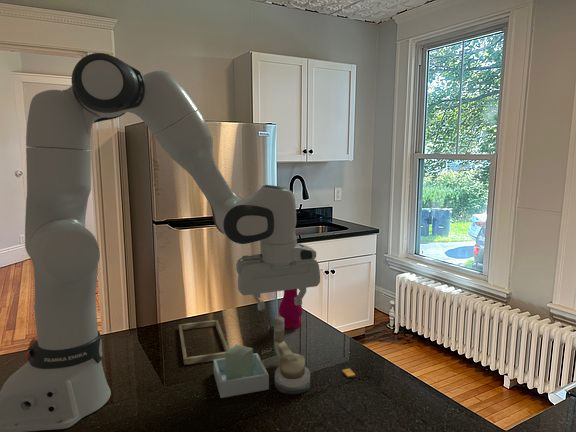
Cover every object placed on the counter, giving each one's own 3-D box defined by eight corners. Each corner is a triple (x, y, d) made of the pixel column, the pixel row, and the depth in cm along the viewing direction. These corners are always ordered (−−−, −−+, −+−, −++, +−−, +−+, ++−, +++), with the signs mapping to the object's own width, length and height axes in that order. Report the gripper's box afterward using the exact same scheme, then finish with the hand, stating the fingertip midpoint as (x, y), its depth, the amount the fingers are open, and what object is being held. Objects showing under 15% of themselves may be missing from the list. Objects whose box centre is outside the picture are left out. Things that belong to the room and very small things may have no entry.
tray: (220, 398, 89) (220, 382, 89) (213, 373, 99) (213, 359, 99) (268, 389, 92) (268, 374, 92) (257, 366, 102) (257, 352, 102)
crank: (308, 376, 92) (308, 339, 91) (284, 380, 91) (284, 343, 89) (288, 347, 106) (288, 315, 105) (267, 350, 104) (266, 318, 103)
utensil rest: (184, 365, 103) (183, 359, 103) (178, 329, 125) (178, 324, 124) (230, 357, 107) (230, 352, 107) (217, 324, 128) (217, 319, 128)
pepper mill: (300, 330, 123) (300, 264, 120) (276, 328, 125) (275, 263, 122) (304, 320, 130) (304, 258, 127) (281, 319, 132) (281, 257, 129)
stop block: (242, 386, 93) (242, 356, 92) (226, 381, 95) (225, 352, 94) (253, 376, 97) (252, 348, 96) (237, 372, 99) (236, 344, 98)
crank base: (280, 397, 89) (280, 384, 89) (270, 378, 97) (270, 367, 97) (360, 382, 95) (360, 370, 95) (345, 365, 103) (345, 354, 102)
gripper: (238, 259, 94) (241, 317, 96) (322, 251, 100) (322, 306, 102) (233, 253, 100) (235, 308, 102) (313, 245, 106) (313, 297, 108)
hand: (280, 307), depth 102 cm, fingers open, 8 cm apart
